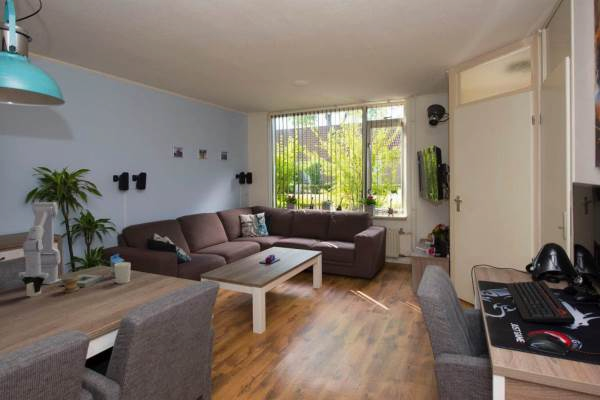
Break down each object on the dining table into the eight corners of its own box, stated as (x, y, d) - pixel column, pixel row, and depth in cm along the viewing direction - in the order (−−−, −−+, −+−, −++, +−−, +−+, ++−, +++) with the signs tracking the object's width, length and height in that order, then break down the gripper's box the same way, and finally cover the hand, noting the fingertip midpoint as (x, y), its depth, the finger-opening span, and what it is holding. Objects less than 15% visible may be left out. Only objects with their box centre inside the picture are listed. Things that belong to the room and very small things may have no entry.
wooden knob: (59, 292, 172) (58, 280, 172) (70, 287, 179) (70, 276, 179) (71, 293, 171) (71, 281, 171) (82, 288, 178) (82, 277, 178)
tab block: (26, 296, 166) (26, 284, 165) (36, 293, 170) (35, 281, 170) (32, 297, 165) (32, 284, 165) (41, 293, 170) (41, 281, 170)
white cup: (126, 284, 187) (125, 266, 186) (111, 283, 187) (111, 265, 186) (133, 279, 195) (133, 262, 194) (119, 279, 195) (119, 262, 194)
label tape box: (117, 277, 198) (117, 256, 197) (110, 277, 198) (110, 256, 197) (125, 273, 206) (125, 253, 205) (118, 273, 206) (118, 253, 206)
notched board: (61, 285, 182) (61, 281, 182) (81, 277, 196) (81, 274, 196) (85, 287, 181) (85, 283, 180) (104, 279, 194) (103, 275, 194)
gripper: (12, 265, 164) (13, 293, 165) (39, 267, 162) (40, 295, 163) (25, 261, 171) (26, 288, 172) (51, 263, 169) (52, 290, 170)
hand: (34, 291), depth 168 cm, fingers closed on tab block, 3 cm apart
